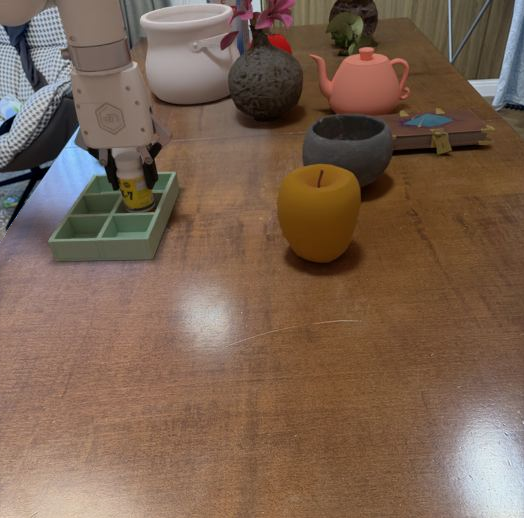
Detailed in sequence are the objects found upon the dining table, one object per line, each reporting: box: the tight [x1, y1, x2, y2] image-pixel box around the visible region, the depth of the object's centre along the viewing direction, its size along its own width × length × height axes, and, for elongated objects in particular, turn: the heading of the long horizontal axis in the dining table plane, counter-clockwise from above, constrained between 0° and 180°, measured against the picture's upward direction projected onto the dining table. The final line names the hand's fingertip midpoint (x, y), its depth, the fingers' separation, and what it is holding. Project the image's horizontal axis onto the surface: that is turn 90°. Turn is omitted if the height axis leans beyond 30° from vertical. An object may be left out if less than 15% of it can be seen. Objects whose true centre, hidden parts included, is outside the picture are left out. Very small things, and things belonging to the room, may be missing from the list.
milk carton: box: [205, 0, 251, 56], centre depth 146 cm, size 10×6×20 cm, turn 73°
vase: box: [220, 0, 304, 124], centre depth 104 cm, size 17×18×30 cm
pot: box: [139, 3, 240, 105], centre depth 125 cm, size 26×24×18 cm
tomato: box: [249, 31, 293, 56], centre depth 135 cm, size 11×13×10 cm
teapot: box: [308, 47, 411, 116], centre depth 109 cm, size 22×16×12 cm
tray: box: [47, 171, 181, 262], centre depth 82 cm, size 15×22×4 cm
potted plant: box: [325, 0, 379, 57], centre depth 144 cm, size 16×15×35 cm
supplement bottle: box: [115, 151, 155, 213], centre depth 78 cm, size 5×5×8 cm
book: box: [373, 107, 496, 156], centre depth 98 cm, size 16×25×5 cm, turn 91°
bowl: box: [301, 114, 394, 189], centre depth 85 cm, size 15×15×10 cm
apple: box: [276, 164, 362, 264], centre depth 68 cm, size 11×11×13 cm
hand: (135, 185), depth 79 cm, fingers closed on supplement bottle, 4 cm apart
